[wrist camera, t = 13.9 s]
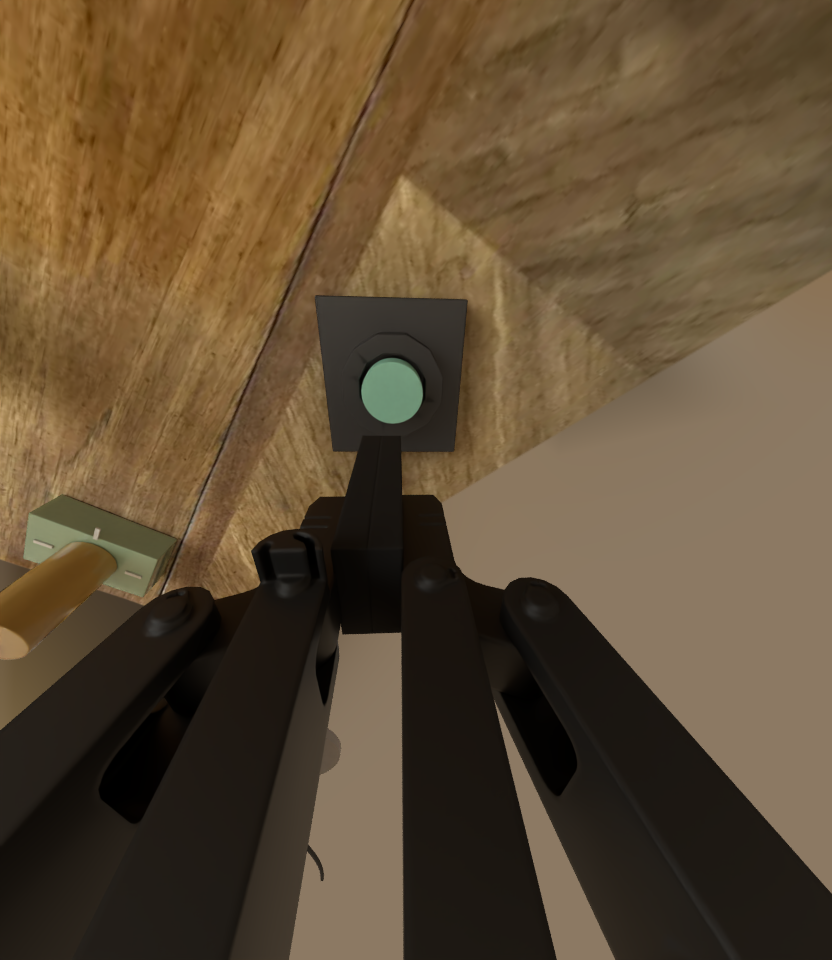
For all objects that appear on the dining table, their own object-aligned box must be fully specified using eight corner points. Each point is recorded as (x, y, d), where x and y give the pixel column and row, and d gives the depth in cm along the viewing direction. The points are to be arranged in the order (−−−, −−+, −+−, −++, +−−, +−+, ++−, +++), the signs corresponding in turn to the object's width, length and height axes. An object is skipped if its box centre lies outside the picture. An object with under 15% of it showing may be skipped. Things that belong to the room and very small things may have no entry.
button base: (450, 441, 28) (457, 461, 24) (337, 441, 27) (328, 461, 24) (462, 300, 22) (473, 298, 19) (321, 296, 22) (307, 294, 18)
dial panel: (181, 530, 31) (159, 552, 28) (159, 582, 34) (139, 606, 32) (64, 483, 28) (27, 503, 25) (52, 545, 31) (19, 568, 29)
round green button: (420, 416, 23) (421, 424, 21) (365, 415, 23) (363, 423, 21) (422, 358, 21) (424, 362, 19) (362, 357, 21) (359, 361, 19)
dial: (65, 533, 27) (-56, 616, 20) (122, 554, 28) (27, 638, 21) (59, 565, 29) (-56, 652, 22) (112, 583, 30) (21, 670, 23)
